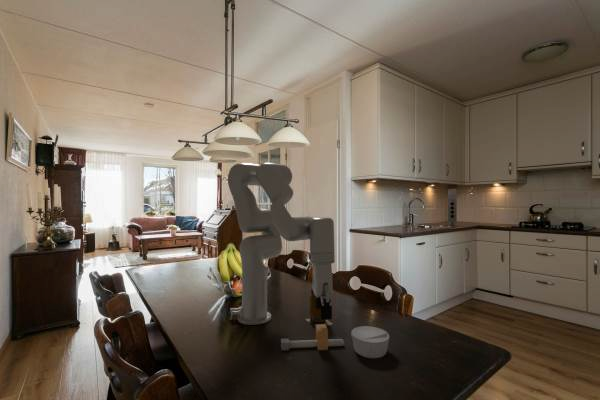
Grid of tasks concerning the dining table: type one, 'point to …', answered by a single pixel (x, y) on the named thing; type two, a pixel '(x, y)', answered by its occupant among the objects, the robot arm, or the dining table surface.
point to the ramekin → (370, 341)
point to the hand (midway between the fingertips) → (323, 313)
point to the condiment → (315, 312)
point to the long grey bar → (308, 343)
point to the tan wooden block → (322, 336)
